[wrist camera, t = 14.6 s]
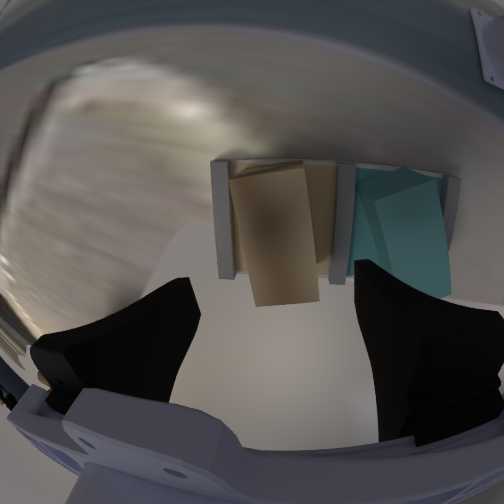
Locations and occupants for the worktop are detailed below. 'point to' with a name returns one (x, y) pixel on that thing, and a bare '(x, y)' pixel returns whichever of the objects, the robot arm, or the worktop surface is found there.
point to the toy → (7, 400)
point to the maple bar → (276, 232)
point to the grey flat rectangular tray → (319, 213)
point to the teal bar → (408, 229)
